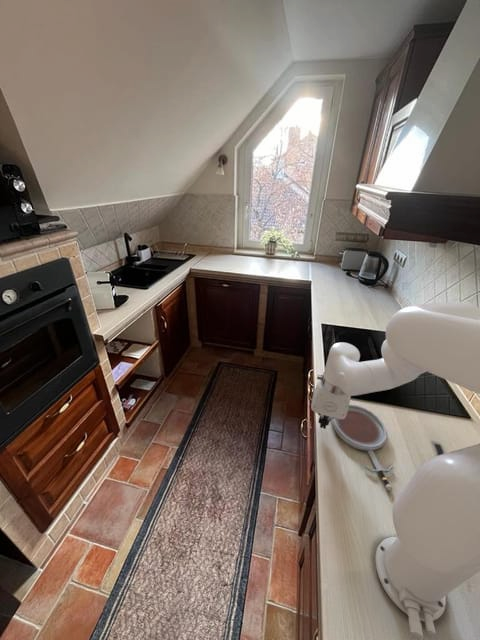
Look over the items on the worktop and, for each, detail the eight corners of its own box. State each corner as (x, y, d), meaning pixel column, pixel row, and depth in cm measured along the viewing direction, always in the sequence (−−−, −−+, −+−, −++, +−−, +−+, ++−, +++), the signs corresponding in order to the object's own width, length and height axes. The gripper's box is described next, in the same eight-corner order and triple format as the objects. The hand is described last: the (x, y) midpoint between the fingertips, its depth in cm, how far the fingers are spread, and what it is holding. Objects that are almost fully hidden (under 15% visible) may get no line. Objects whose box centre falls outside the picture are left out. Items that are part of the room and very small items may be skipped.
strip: (454, 482, 70) (454, 482, 70) (447, 480, 71) (448, 480, 71) (439, 445, 80) (440, 445, 80) (434, 443, 81) (434, 443, 80)
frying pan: (360, 488, 66) (325, 402, 90) (357, 494, 67) (323, 408, 91) (423, 487, 67) (372, 402, 91) (419, 492, 68) (369, 408, 92)
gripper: (307, 384, 71) (298, 427, 81) (364, 399, 68) (347, 442, 77) (310, 368, 78) (300, 409, 87) (362, 380, 74) (346, 422, 83)
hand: (322, 424), depth 82 cm, fingers closed
